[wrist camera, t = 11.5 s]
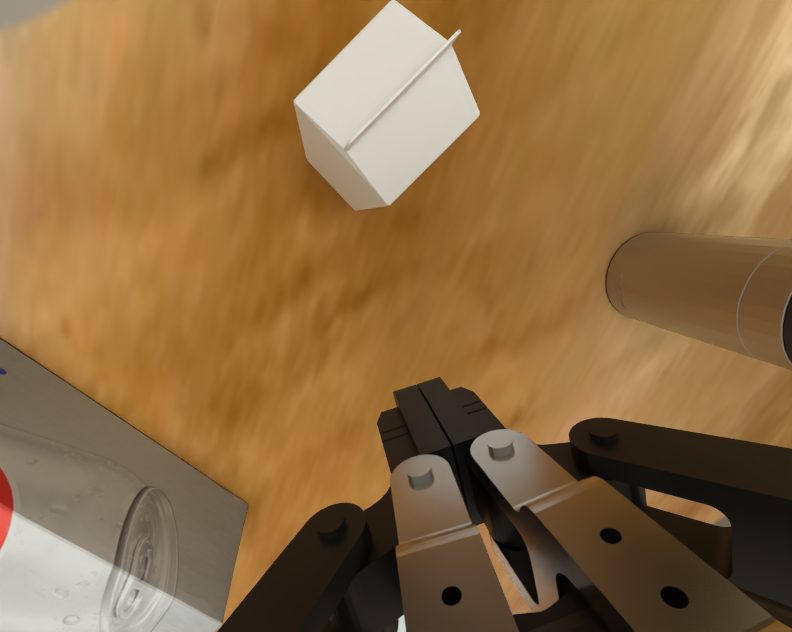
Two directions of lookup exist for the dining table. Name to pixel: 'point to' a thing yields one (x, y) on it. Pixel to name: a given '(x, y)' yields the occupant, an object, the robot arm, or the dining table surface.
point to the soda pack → (103, 518)
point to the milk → (384, 108)
